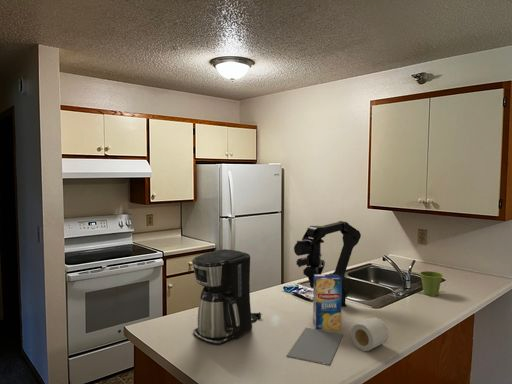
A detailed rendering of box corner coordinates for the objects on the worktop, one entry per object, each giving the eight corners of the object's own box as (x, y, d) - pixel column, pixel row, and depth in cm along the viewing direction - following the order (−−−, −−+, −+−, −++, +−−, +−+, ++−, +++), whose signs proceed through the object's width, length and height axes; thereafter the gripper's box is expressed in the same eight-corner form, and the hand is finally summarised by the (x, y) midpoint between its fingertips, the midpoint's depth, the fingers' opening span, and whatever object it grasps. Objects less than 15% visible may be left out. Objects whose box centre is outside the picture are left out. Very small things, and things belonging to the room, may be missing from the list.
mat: (305, 328, 164) (305, 327, 164) (343, 334, 158) (343, 333, 158) (286, 356, 140) (286, 355, 140) (329, 365, 134) (329, 364, 134)
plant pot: (435, 290, 213) (436, 270, 212) (447, 297, 201) (447, 277, 200) (414, 290, 213) (415, 270, 212) (425, 298, 201) (425, 277, 200)
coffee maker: (184, 340, 154) (182, 258, 151) (220, 311, 184) (220, 242, 181) (235, 350, 145) (234, 263, 143) (264, 318, 175) (264, 246, 173)
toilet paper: (366, 338, 155) (366, 314, 154) (388, 347, 147) (388, 322, 147) (350, 345, 149) (351, 320, 148) (372, 355, 141) (373, 329, 140)
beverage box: (312, 322, 170) (313, 274, 168) (337, 322, 170) (338, 274, 168) (315, 329, 163) (316, 279, 161) (341, 329, 163) (341, 279, 162)
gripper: (303, 247, 193) (303, 277, 194) (292, 255, 176) (292, 288, 177) (325, 248, 189) (325, 279, 190) (316, 257, 172) (316, 291, 173)
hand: (314, 284), depth 183 cm, fingers open, 9 cm apart
